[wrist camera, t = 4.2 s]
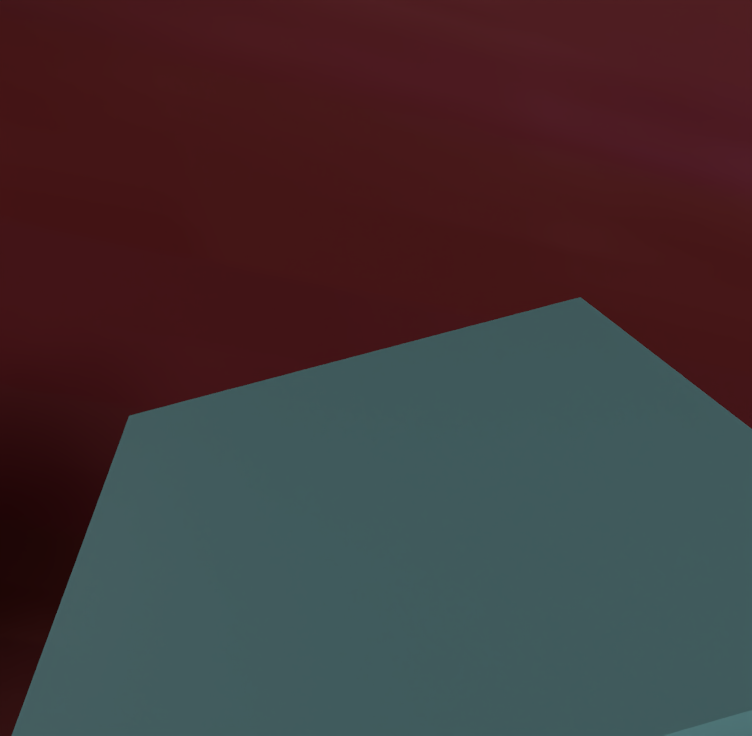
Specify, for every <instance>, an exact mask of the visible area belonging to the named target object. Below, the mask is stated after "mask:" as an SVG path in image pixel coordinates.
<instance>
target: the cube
mask: <svg viewBox="0 0 752 736" xmlns="http://www.w3.org/2000/svg"><path fill="white" fill-rule="evenodd" d="M12 736H752V429H751V428H750V427H748V426H747V425H746V424H744V423H743V422H742V421H740V420H739V419H738V418H737V417H735V416H734V415H733V414H731V413H730V412H729V411H727V410H726V409H725V408H724V407H722V406H721V405H720V404H718V403H717V402H716V401H714V400H713V399H712V398H711V397H709V396H708V395H707V394H705V393H704V392H703V391H701V390H700V389H699V388H698V387H696V386H695V385H694V384H692V383H691V382H690V381H688V380H687V379H686V378H685V377H683V376H682V375H681V374H679V373H678V372H677V371H676V370H674V369H673V368H672V367H670V366H669V365H668V364H666V363H665V362H664V361H663V360H661V359H660V358H659V357H657V356H656V355H655V354H653V353H652V352H651V351H650V350H648V349H647V348H646V347H644V346H643V345H642V344H640V343H639V342H638V341H637V340H635V339H634V338H633V337H631V336H630V335H629V334H627V333H626V332H625V331H624V330H622V329H621V328H620V327H618V326H617V325H616V324H614V323H613V322H612V321H611V320H609V319H608V318H607V317H605V316H604V315H603V314H601V313H600V312H599V311H598V310H596V309H595V308H594V307H592V306H591V305H590V304H588V303H587V302H586V301H585V300H583V299H582V298H581V297H579V298H576V299H572V300H568V301H564V302H560V303H557V304H553V305H549V306H545V307H541V308H538V309H534V310H530V311H526V312H522V313H519V314H515V315H511V316H507V317H503V318H500V319H496V320H492V321H488V322H484V323H480V324H477V325H473V326H469V327H465V328H461V329H458V330H454V331H450V332H446V333H442V334H439V335H435V336H431V337H427V338H423V339H420V340H416V341H412V342H408V343H404V344H401V345H397V346H393V347H389V348H385V349H382V350H378V351H374V352H370V353H366V354H363V355H359V356H355V357H351V358H347V359H343V360H340V361H336V362H332V363H328V364H324V365H321V366H317V367H313V368H309V369H305V370H302V371H298V372H294V373H290V374H286V375H283V376H279V377H275V378H271V379H267V380H264V381H260V382H256V383H252V384H248V385H245V386H241V387H237V388H233V389H229V390H226V391H222V392H218V393H214V394H210V395H206V396H203V397H199V398H195V399H191V400H187V401H184V402H180V403H176V404H172V405H168V406H165V407H161V408H157V409H153V410H149V411H146V412H142V413H138V414H134V415H130V416H129V418H128V421H127V423H126V426H125V429H124V432H123V434H122V437H121V440H120V442H119V445H118V448H117V451H116V453H115V456H114V459H113V461H112V464H111V467H110V470H109V472H108V475H107V478H106V480H105V483H104V486H103V489H102V491H101V494H100V497H99V499H98V502H97V505H96V508H95V510H94V513H93V516H92V519H91V521H90V524H89V527H88V529H87V532H86V535H85V538H84V540H83V543H82V546H81V548H80V551H79V554H78V557H77V559H76V562H75V565H74V567H73V570H72V573H71V576H70V578H69V581H68V584H67V587H66V589H65V592H64V595H63V597H62V600H61V603H60V606H59V608H58V611H57V614H56V616H55V619H54V622H53V625H52V627H51V630H50V633H49V635H48V638H47V641H46V644H45V646H44V649H43V652H42V654H41V657H40V660H39V663H38V665H37V668H36V671H35V674H34V676H33V679H32V682H31V684H30V687H29V690H28V693H27V695H26V698H25V701H24V703H23V706H22V709H21V712H20V714H19V717H18V720H17V722H16V725H15V728H14V731H13V733H12Z"/></svg>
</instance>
